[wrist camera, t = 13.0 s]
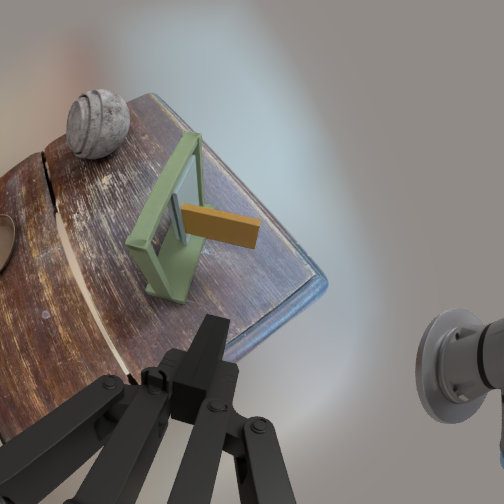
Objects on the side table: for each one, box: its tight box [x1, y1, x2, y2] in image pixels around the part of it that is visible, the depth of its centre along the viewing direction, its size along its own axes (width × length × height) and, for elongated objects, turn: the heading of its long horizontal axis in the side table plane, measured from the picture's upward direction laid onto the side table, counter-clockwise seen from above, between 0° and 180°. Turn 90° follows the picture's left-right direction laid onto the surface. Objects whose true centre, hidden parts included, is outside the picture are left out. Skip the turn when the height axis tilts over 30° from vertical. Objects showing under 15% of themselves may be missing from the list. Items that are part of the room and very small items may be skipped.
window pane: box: [172, 155, 261, 249], centre depth 38 cm, size 11×7×13 cm, turn 78°
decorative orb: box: [66, 90, 130, 159], centre depth 46 cm, size 15×14×15 cm
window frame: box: [125, 131, 215, 305], centre depth 36 cm, size 6×17×16 cm, turn 168°
